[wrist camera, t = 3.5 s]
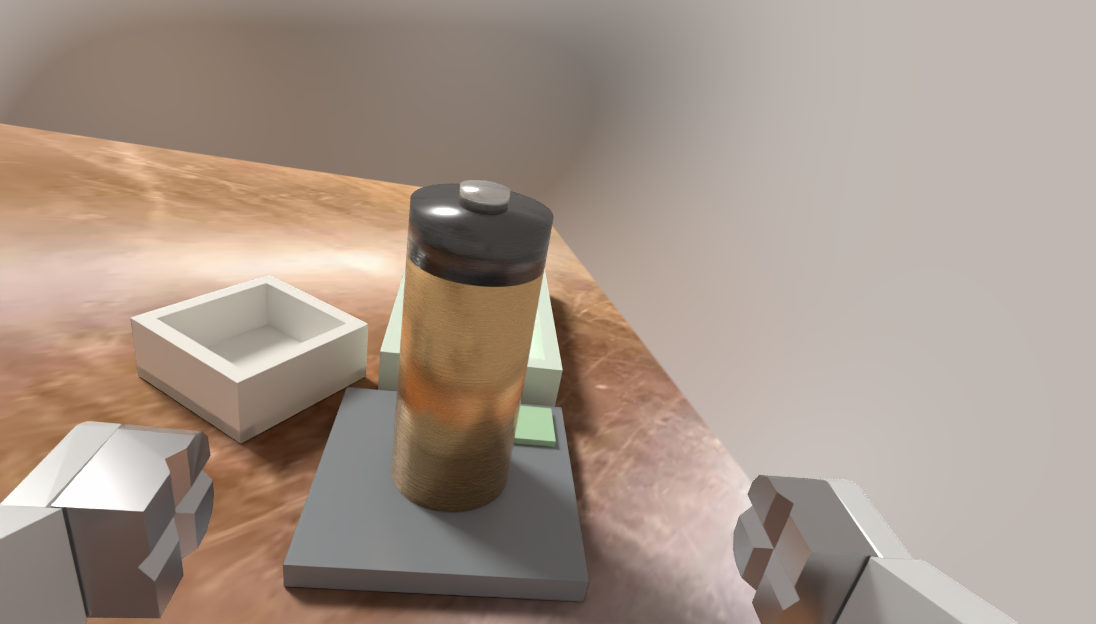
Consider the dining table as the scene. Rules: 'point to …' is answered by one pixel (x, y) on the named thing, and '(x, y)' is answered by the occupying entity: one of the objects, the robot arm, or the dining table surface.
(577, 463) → the dining table surface
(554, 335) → the pale green tray
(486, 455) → the cell
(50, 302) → the dining table surface
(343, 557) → the grey square pad
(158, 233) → the dining table surface
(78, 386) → the dining table surface
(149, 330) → the small white open box
